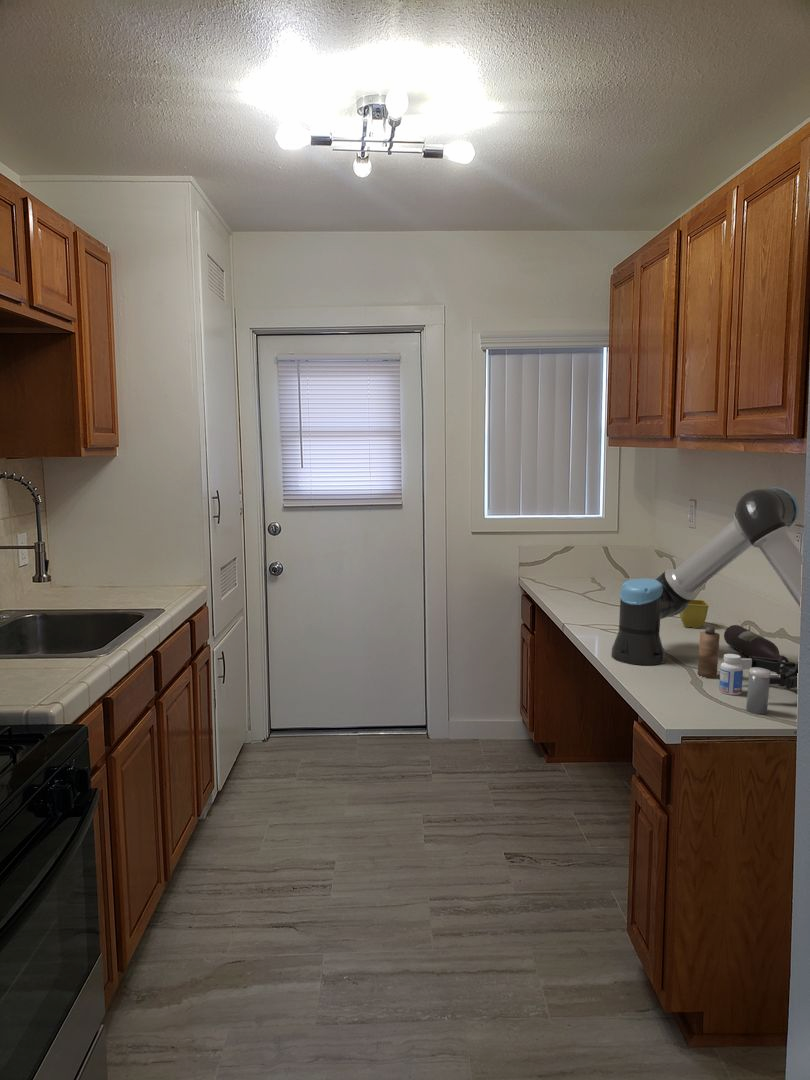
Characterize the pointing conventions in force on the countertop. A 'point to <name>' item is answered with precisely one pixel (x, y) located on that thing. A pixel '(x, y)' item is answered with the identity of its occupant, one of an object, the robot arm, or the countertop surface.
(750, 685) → the charcoal salt shaker
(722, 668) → the pill bottle
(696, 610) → the flower pot
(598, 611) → the countertop surface
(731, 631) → the wine bottle
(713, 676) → the walnut pepper mill
